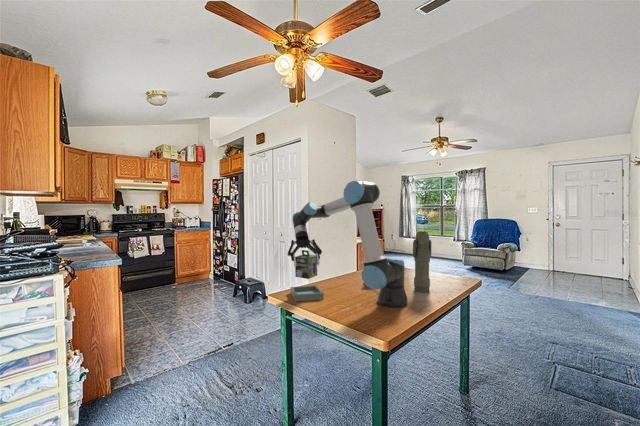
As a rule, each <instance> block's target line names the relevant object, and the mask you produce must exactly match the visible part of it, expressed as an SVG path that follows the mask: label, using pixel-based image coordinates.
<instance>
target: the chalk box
mask: <svg viewBox="0 0 640 426" xmlns="http://www.w3.org/2000/svg"><path fill="white" fill-rule="evenodd" d="M309 251H310V250H308V249H307V250H306V249H301V254H299V255H298V256H296V255H295V258H296V267H294V269H295V270H294V273H295V276H294V277H295V278H300V279H306V280H309V279H311V278H314V277H317V276H318V266H317V255H316V254H310V252H309Z"/></svg>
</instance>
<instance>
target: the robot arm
mask: <svg viewBox="0 0 640 426" xmlns="http://www.w3.org/2000/svg"><path fill="white" fill-rule="evenodd" d="M380 192H381V191H380V188H379V187H378V185H377V184H376V183H375V182H372V181H364V180H363V181H362V180H358V179H357V180H352V181H349V182H348V183H347V184H346V185H345V187H344V188H343V196H342V197H340V198H337V199H335V200H332V201H330V202H327V203H325V204H322V205H317V204H316V203H315V202H312V201H308V202H307V203H306V204H305V205H304V206H303V207H302V209H301V210H300V211H297V212H295V213H293V214H292V224H293V225H292V226H293V230H294V237H295V240H293V239H291V241H290V244H291V245H290V246H289V249H288V251H287V257H290V260H291V262H293V265H294V268H295V267H296V258H295V257H296V253H297V252H298V250H299V249H300V248H301V249H306V248H307V250H308V249H309V251H311V252H312V253H314V255H317V267H318V266H320V263H321V262H320V260H321V259H320V258H321V256H320V255H322V253H323V251H322V249H321V247H320V246H318V244H317V243H316V241H315V239H312V240H310V239H309V234H308V229H307V228H308V227H307V225H306V224H307V223H308V222H309V221H310V220H311V219H318V218H321V219H323V218H324V219H325V218H329V217H330V216H331V215H334V214H337V213H341V212H344V211H347V210H349V209H350V210H352V211H353V212H354V214H355V219H356V223H357V226H358V231H359V232H358V233H359V237H360V240H361V244H362V249H363V254H364V260H363V263H362V264H363V267H364V268H363V269H362V271H361V279H362V282H363V283H364V284H365V286H367V287H368V288H370V290H379V293H378V295H377V302H378V304H380V305H383V306H386V307H390V308H391V307H392V308H402V307H405V306H408V300H409V299H408V296H407V293H406V290H405V267H406V266H405V261H404V260H403V259H402V258H394V257H386V256H385V255H383V250H382V247H381V242H380V237H379V234H378V230H377V226H376V225H377V224H376V221H375V217H374V213H373V209H372V208H373V206H374V203H376V202H377V201H378V200H379V198H380V195H381V193H380ZM295 244H296V246H295V248H294V245H295Z"/></svg>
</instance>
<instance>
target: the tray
mask: <svg viewBox="0 0 640 426" xmlns="http://www.w3.org/2000/svg"><path fill="white" fill-rule="evenodd" d="M290 295H291V296H292V299H293V300H294V302H296V303H297V302H308V301H321V300H324V298H325V297H324V295H325V294H324V291H322V290H321V288H320V287H319V286H318V285H316V284H315V285H302V286H290Z"/></svg>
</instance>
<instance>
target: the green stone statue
mask: <svg viewBox="0 0 640 426" xmlns="http://www.w3.org/2000/svg"><path fill="white" fill-rule="evenodd" d="M431 256H432V240H431V239H430V236H429V233H428V232H427V231H424V230H423V231H422V230H419V231H417V232H416V233H415V239H413V241H412V257H413V260H414V277H413V287H414V291H415V292H417V293H418V292H419V293H429V292H430V287H431V280H430V262H431Z"/></svg>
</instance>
